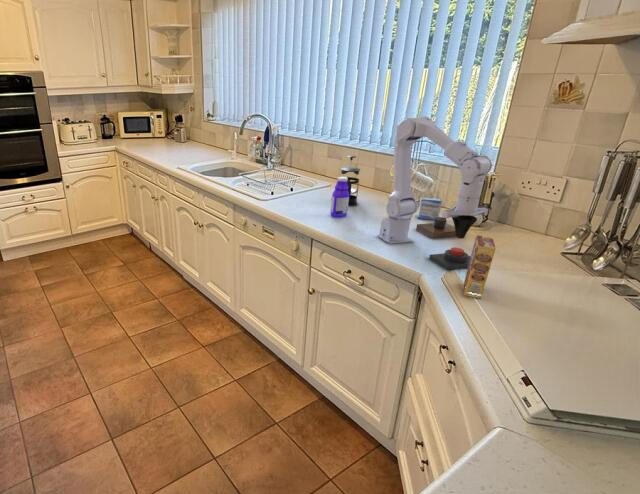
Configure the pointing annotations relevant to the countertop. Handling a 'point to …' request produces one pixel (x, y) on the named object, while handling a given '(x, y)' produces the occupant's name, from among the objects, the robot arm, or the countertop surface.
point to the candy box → (479, 265)
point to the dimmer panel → (436, 231)
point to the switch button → (457, 251)
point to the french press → (351, 182)
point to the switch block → (451, 260)
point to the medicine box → (429, 208)
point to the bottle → (340, 198)
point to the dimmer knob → (439, 222)
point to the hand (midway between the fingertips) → (459, 237)
